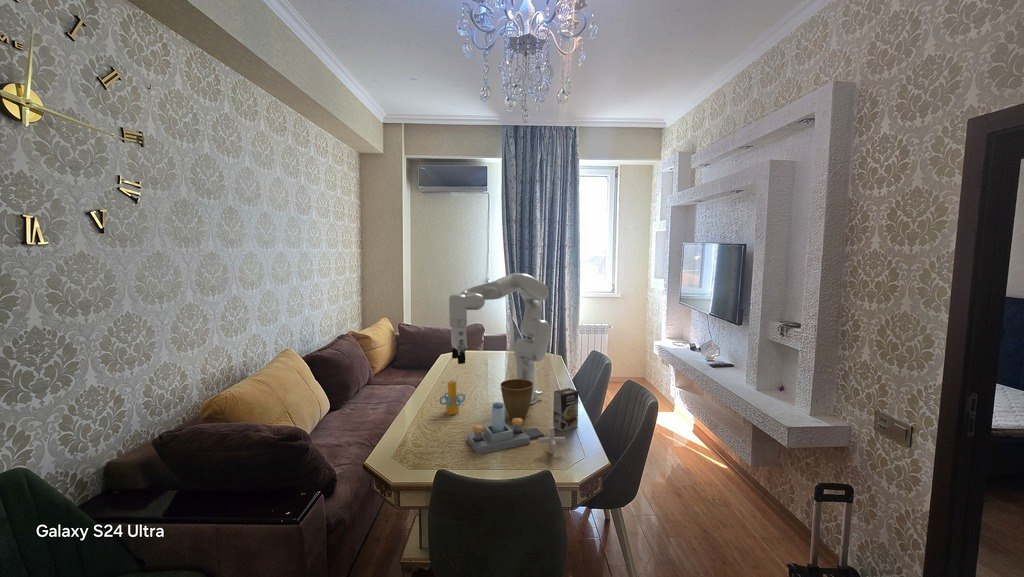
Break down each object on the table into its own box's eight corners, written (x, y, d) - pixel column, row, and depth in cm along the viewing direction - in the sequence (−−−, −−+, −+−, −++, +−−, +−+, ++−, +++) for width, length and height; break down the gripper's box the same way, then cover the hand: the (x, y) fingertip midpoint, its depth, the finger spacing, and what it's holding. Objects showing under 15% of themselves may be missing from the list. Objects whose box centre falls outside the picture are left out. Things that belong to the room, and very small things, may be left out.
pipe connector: (536, 447, 171) (537, 422, 170) (562, 446, 172) (562, 421, 171) (540, 459, 161) (540, 433, 160) (567, 458, 162) (567, 432, 161)
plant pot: (529, 410, 208) (529, 377, 207) (536, 423, 194) (536, 388, 192) (498, 412, 206) (498, 379, 204) (503, 425, 191) (503, 390, 189)
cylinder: (459, 418, 199) (458, 386, 197) (437, 416, 201) (436, 384, 199) (467, 408, 211) (466, 378, 209) (446, 406, 213) (446, 376, 211)
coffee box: (561, 432, 184) (562, 395, 183) (552, 426, 190) (552, 390, 188) (578, 427, 189) (579, 391, 187) (569, 422, 195) (569, 387, 193)
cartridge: (501, 432, 179) (501, 401, 177) (506, 437, 174) (506, 405, 173) (490, 434, 176) (489, 403, 175) (494, 439, 172) (494, 407, 171)
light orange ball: (520, 427, 182) (520, 417, 181) (524, 431, 178) (524, 421, 177) (510, 429, 180) (510, 418, 179) (514, 433, 176) (514, 422, 175)
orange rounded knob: (481, 434, 175) (481, 424, 174) (485, 439, 171) (485, 428, 170) (471, 436, 173) (470, 425, 172) (474, 441, 169) (474, 430, 168)
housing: (516, 430, 186) (516, 418, 185) (529, 443, 174) (530, 430, 174) (467, 440, 177) (466, 427, 176) (477, 454, 165) (477, 440, 165)
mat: (536, 430, 186) (536, 427, 186) (544, 436, 180) (544, 434, 180) (521, 432, 184) (521, 430, 183) (528, 439, 177) (528, 437, 177)
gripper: (472, 325, 185) (472, 365, 186) (461, 318, 200) (461, 355, 202) (454, 326, 182) (455, 366, 184) (445, 319, 198) (445, 356, 199)
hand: (458, 360), depth 193 cm, fingers open, 9 cm apart
